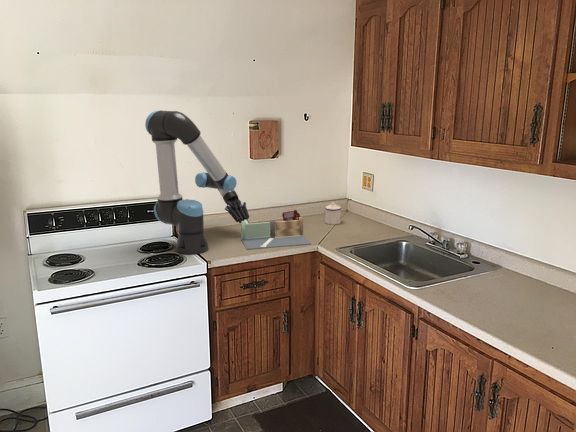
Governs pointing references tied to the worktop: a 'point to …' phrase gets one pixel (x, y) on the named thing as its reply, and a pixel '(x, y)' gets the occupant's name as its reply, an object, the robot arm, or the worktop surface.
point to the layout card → (273, 242)
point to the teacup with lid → (333, 214)
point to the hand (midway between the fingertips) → (249, 231)
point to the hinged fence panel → (255, 229)
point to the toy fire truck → (290, 215)
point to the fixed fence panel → (286, 228)
